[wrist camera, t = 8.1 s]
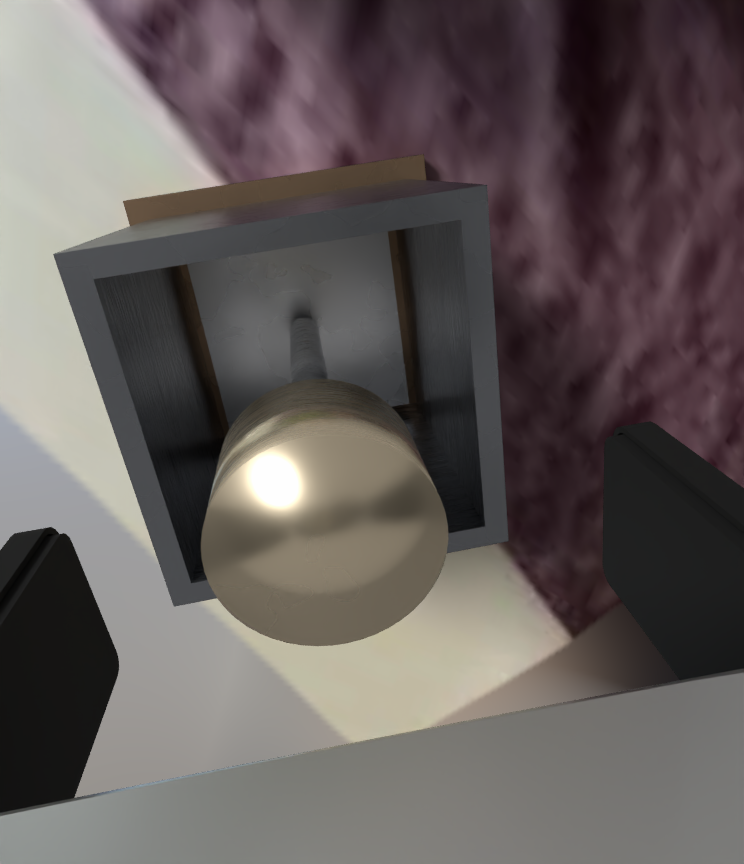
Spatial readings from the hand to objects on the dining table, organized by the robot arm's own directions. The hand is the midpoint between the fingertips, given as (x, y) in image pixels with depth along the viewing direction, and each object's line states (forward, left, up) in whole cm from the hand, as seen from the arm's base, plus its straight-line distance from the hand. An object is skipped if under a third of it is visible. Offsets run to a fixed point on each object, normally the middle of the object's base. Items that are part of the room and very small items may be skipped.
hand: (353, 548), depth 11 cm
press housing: (0, 0, -19) cm, 19 cm away
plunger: (0, 0, -17) cm, 17 cm away
